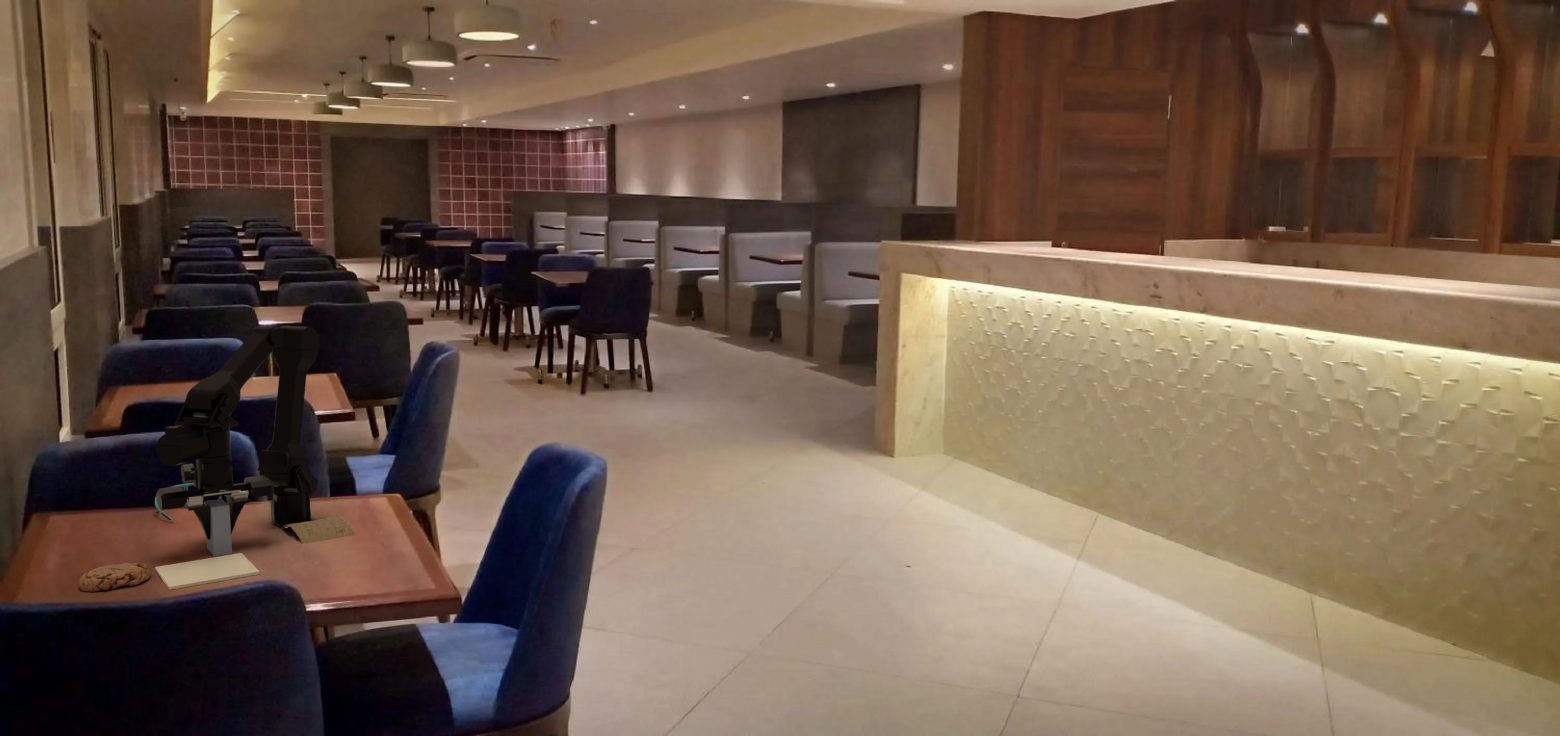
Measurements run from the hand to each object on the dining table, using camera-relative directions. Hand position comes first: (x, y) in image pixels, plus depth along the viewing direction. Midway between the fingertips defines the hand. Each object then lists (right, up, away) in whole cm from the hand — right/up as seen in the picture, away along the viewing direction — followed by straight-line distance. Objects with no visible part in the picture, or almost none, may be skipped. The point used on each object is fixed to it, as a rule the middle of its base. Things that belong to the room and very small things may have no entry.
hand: (218, 537), depth 211 cm
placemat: (+4, -4, -12) cm, 13 cm away
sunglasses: (-18, +1, +26) cm, 32 cm away
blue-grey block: (0, -3, 0) cm, 3 cm away
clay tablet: (+13, -2, +13) cm, 18 cm away
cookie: (-9, -6, -17) cm, 20 cm away
